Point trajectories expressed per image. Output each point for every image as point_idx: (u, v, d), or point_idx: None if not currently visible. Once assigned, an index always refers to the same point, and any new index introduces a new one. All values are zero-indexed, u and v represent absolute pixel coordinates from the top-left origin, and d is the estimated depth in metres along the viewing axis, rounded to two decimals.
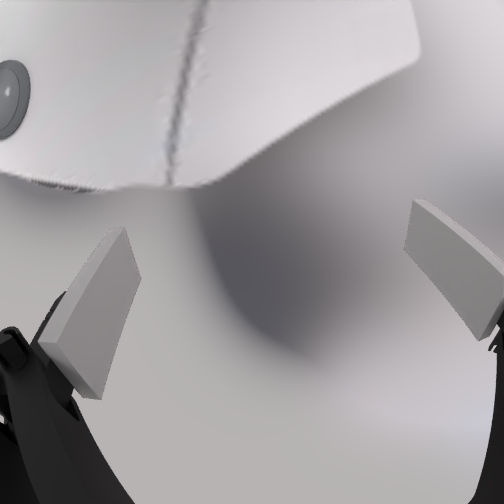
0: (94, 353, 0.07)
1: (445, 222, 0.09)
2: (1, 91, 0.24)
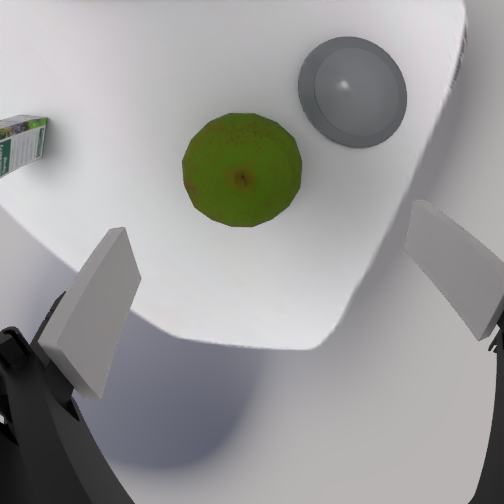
0: (94, 353, 0.07)
1: (445, 222, 0.09)
2: (350, 81, 0.26)
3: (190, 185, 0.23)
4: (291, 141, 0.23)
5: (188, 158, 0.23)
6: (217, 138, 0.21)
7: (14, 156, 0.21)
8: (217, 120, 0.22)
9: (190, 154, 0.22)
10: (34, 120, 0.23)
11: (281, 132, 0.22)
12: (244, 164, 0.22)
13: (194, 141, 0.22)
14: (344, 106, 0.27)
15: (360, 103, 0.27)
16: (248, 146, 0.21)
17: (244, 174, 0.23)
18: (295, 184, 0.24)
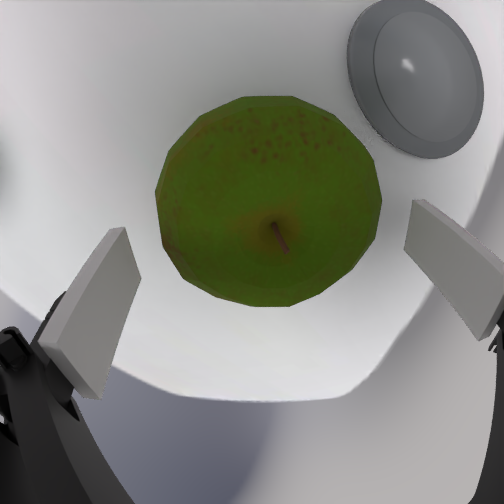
0: (94, 353, 0.07)
1: (445, 222, 0.09)
2: (422, 60, 0.14)
3: (171, 244, 0.12)
4: (368, 154, 0.11)
5: (163, 190, 0.11)
6: (220, 147, 0.10)
7: None
8: (219, 109, 0.11)
9: (166, 182, 0.11)
10: None
11: (351, 135, 0.10)
12: (280, 202, 0.11)
13: (173, 154, 0.11)
14: (415, 95, 0.15)
15: (435, 93, 0.15)
16: (291, 165, 0.10)
17: (278, 221, 0.12)
18: (371, 236, 0.12)
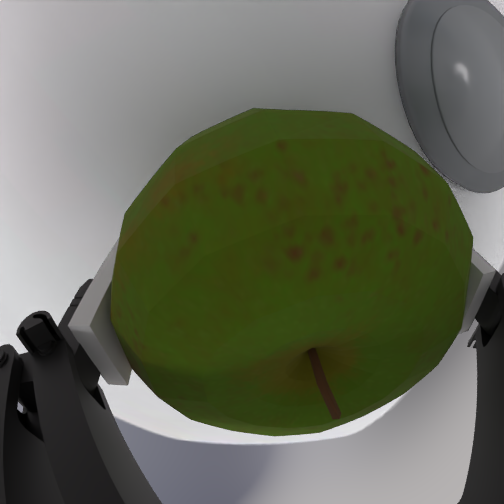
0: None
1: None
2: (483, 67, 0.09)
3: (141, 376, 0.07)
4: (468, 229, 0.06)
5: (114, 300, 0.06)
6: (215, 242, 0.04)
7: None
8: (213, 137, 0.06)
9: (116, 289, 0.06)
10: None
11: (454, 200, 0.05)
12: (332, 336, 0.05)
13: (125, 234, 0.06)
14: (476, 113, 0.10)
15: (495, 111, 0.10)
16: (369, 280, 0.04)
17: (320, 348, 0.06)
18: None
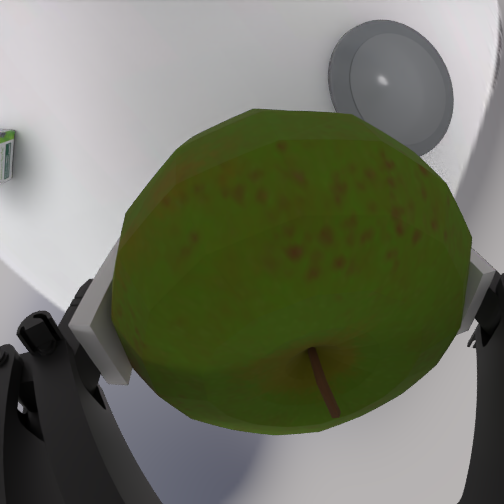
0: None
1: None
2: (393, 75, 0.19)
3: (142, 375, 0.07)
4: None
5: (115, 299, 0.06)
6: (215, 242, 0.04)
7: None
8: (214, 137, 0.06)
9: (117, 289, 0.06)
10: None
11: (453, 201, 0.05)
12: (332, 334, 0.06)
13: (126, 234, 0.06)
14: (386, 105, 0.20)
15: (405, 103, 0.20)
16: (369, 279, 0.05)
17: (320, 347, 0.07)
18: None
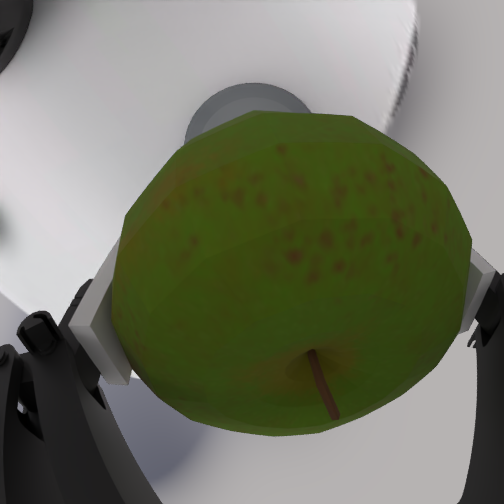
0: None
1: None
2: None
3: (142, 377, 0.07)
4: None
5: (115, 302, 0.06)
6: (214, 245, 0.04)
7: None
8: (213, 139, 0.06)
9: (117, 291, 0.06)
10: None
11: (453, 203, 0.05)
12: (331, 337, 0.06)
13: (126, 236, 0.06)
14: None
15: None
16: (368, 282, 0.05)
17: (319, 349, 0.07)
18: None
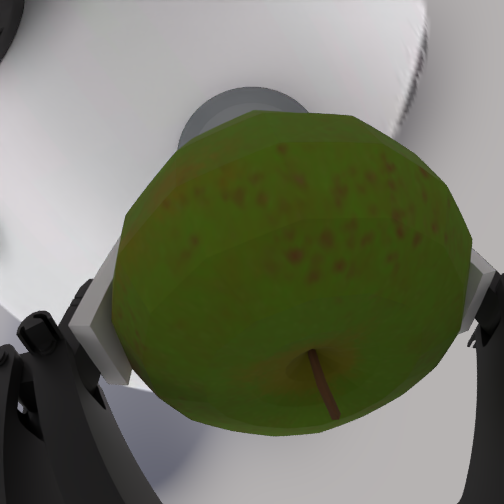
0: None
1: None
2: None
3: (142, 377, 0.07)
4: None
5: (115, 301, 0.06)
6: (215, 245, 0.04)
7: None
8: (214, 139, 0.06)
9: (117, 291, 0.06)
10: None
11: (454, 202, 0.05)
12: (332, 337, 0.06)
13: (126, 236, 0.06)
14: None
15: None
16: (369, 282, 0.05)
17: (320, 349, 0.07)
18: None
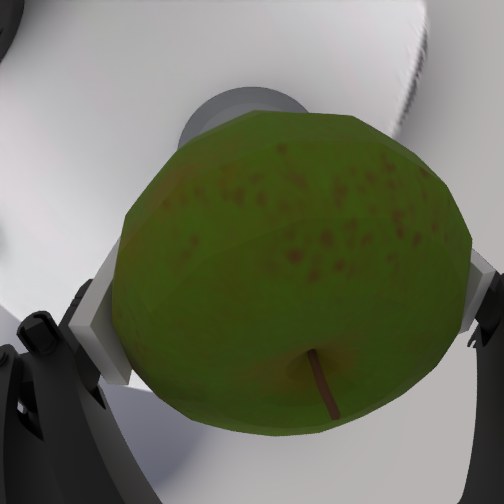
0: None
1: None
2: None
3: (142, 377, 0.07)
4: None
5: (115, 301, 0.06)
6: (215, 245, 0.04)
7: None
8: (214, 139, 0.06)
9: (117, 291, 0.06)
10: None
11: (454, 202, 0.05)
12: (332, 337, 0.06)
13: (126, 236, 0.06)
14: None
15: None
16: (369, 282, 0.05)
17: (320, 349, 0.07)
18: None
